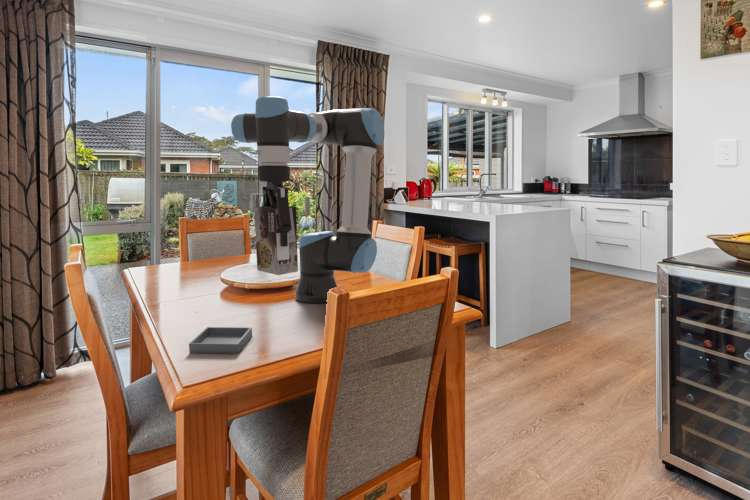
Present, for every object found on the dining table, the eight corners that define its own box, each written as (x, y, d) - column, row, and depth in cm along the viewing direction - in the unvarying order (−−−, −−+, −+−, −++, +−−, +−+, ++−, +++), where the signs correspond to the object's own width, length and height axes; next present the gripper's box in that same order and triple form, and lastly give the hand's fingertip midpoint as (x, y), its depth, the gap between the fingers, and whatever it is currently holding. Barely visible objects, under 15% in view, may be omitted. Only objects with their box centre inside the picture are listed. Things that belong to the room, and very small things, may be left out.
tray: (207, 335, 124) (207, 327, 123) (252, 336, 124) (251, 327, 123) (189, 353, 112) (188, 343, 112) (238, 353, 112) (238, 344, 111)
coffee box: (299, 271, 114) (297, 206, 111) (277, 276, 109) (275, 208, 106) (277, 266, 120) (275, 204, 117) (255, 270, 115) (253, 205, 112)
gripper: (247, 164, 118) (251, 249, 122) (270, 164, 98) (274, 265, 102) (276, 165, 121) (279, 247, 125) (304, 164, 101) (306, 262, 105)
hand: (277, 255), depth 114 cm, fingers closed on coffee box, 10 cm apart
